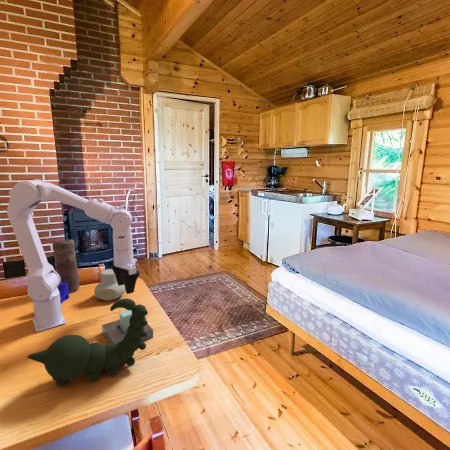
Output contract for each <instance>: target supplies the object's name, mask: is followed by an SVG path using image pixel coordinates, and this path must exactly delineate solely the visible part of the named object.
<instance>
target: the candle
mask: <svg viewBox="0 0 450 450" xmlns="http://www.w3.org/2000/svg"><path fill="white" fill-rule="evenodd" d="M52 247H53V248H52V249H53V255H54V264H55V271H56V272H57V273H58V274H59V276H60V278H61V282H60V283H68V291H69V294H71V293H74V292H76V291H78V290H79V289H80V286H81V285H80V278H79V277H80V276H79V272H78V271H79V270H78V261H77V256H76V254H77V253H76V247H75V240H74V239H73V238H72V239H71V238H70V239H67V240H56V241H53V242H52Z"/></svg>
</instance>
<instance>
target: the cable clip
mask: <svg viewBox="0 0 450 450" xmlns="http://www.w3.org/2000/svg"><path fill="white" fill-rule="evenodd" d="M58 290H59V292H60V302H61V304H63V303H64V302H65V301H67V300H68V299H70V293H69V291H68V283H60V284H59V286H58Z"/></svg>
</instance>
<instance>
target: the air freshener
mask: <svg viewBox="0 0 450 450" xmlns="http://www.w3.org/2000/svg"><path fill="white" fill-rule="evenodd" d="M93 292H94V293H93V294H94V295H95V297H96V298H98V299H100V300H103V301H109V302H110V301H113V300H117V299H119V298H121V297H122V296H123V295H124V294H125V293H126V290H125V285H121V286H119V285H118V283H117V280H116V277H115V274H114V272H113V270H112V268H108V269H104V270H102V271H101V272H100V282H99V283H98V284H96V286H95V288H94V290H93Z"/></svg>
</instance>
